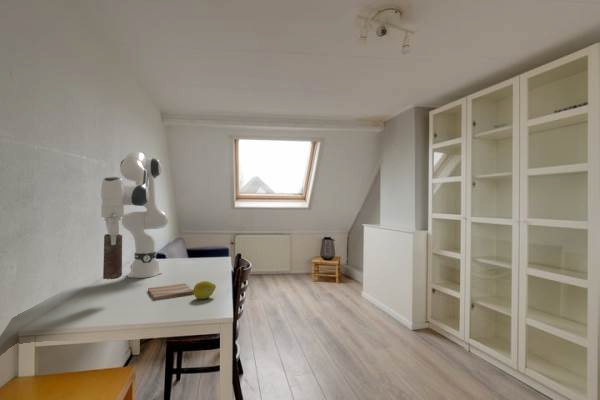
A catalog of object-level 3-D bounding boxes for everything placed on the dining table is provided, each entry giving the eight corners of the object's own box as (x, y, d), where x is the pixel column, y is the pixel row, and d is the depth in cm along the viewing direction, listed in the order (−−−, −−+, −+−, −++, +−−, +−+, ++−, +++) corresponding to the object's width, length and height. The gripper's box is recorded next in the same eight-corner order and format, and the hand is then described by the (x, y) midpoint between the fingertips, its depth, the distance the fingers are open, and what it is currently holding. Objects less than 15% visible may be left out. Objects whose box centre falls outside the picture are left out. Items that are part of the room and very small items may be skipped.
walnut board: (148, 291, 165) (148, 288, 165) (184, 286, 175) (184, 283, 175) (154, 300, 150) (154, 296, 150) (194, 294, 159) (194, 290, 159)
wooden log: (119, 275, 153) (119, 233, 153) (124, 278, 148) (124, 234, 148) (101, 278, 148) (100, 234, 148) (105, 281, 143) (105, 235, 142)
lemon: (193, 302, 146) (193, 284, 146) (190, 298, 153) (190, 280, 153) (218, 299, 151) (218, 281, 151) (213, 294, 158) (213, 278, 158)
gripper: (122, 213, 141) (122, 245, 141) (118, 211, 158) (119, 240, 158) (105, 214, 137) (105, 247, 137) (103, 212, 155) (103, 241, 155)
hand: (112, 243), depth 148 cm, fingers closed on wooden log, 7 cm apart
